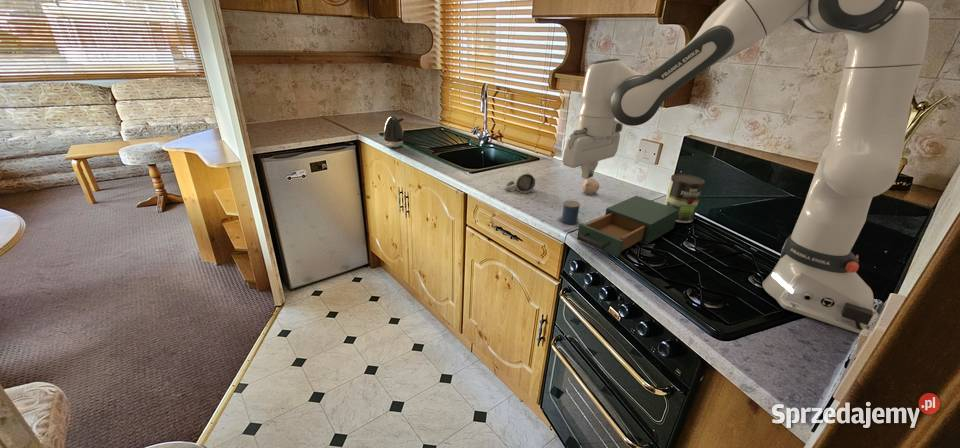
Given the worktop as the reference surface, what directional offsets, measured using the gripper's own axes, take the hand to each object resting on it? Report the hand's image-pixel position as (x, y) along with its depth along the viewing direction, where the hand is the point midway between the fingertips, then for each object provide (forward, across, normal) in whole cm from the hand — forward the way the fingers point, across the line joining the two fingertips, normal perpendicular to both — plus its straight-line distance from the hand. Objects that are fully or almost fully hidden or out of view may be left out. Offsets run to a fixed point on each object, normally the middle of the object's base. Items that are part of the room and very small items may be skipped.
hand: (587, 177), depth 110 cm
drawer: (+20, +8, -6) cm, 22 cm away
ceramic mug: (+21, +20, +42) cm, 50 cm away
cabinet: (+21, +26, -6) cm, 34 cm away
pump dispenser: (+20, +12, +123) cm, 126 cm away
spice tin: (+21, +12, +12) cm, 26 cm away
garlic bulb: (+21, +40, +23) cm, 50 cm away
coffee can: (+21, +46, -9) cm, 52 cm away
